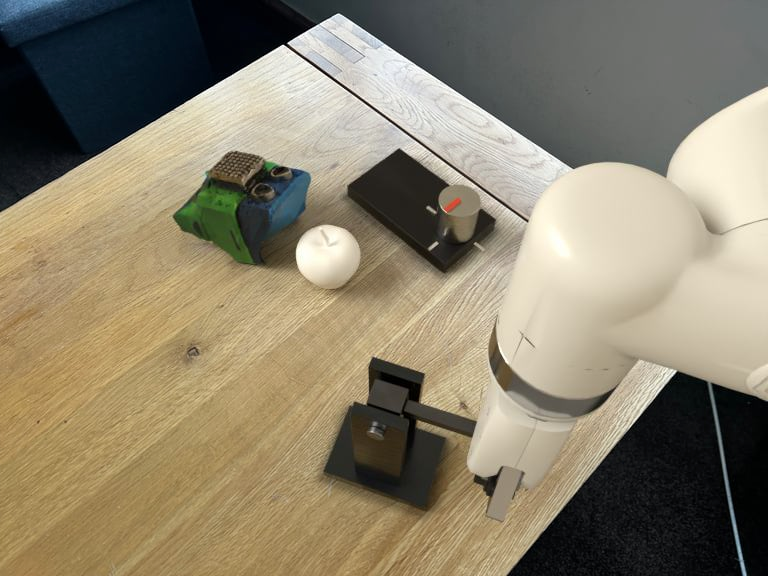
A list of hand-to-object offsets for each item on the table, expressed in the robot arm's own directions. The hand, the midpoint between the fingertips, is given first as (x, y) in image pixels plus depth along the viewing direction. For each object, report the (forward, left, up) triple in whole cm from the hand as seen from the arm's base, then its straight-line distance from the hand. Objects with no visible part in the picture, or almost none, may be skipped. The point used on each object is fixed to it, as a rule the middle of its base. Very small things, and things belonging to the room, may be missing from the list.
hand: (501, 453), depth 53 cm
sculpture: (+35, -21, -11) cm, 42 cm away
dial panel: (+16, -30, -11) cm, 36 cm away
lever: (+5, 0, +2) cm, 5 cm away
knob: (+11, -28, -9) cm, 31 cm away
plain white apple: (+23, -18, -11) cm, 31 cm away
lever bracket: (+10, 0, -11) cm, 15 cm away
